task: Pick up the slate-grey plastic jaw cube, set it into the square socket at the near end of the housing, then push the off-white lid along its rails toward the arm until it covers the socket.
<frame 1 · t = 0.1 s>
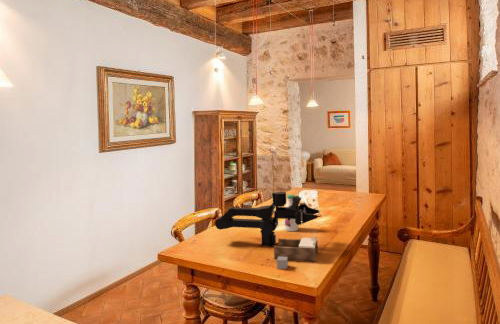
hand: (318, 213, 180), 17 cm above the table, tool horizontal, fingers open, 9 cm apart
milk bottle: (291, 229, 212), on the table
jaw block: (282, 267, 160), on the table
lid: (308, 241, 170), point 7 cm above the table, slide at 0.0 cm
housing: (296, 255, 172), on the table
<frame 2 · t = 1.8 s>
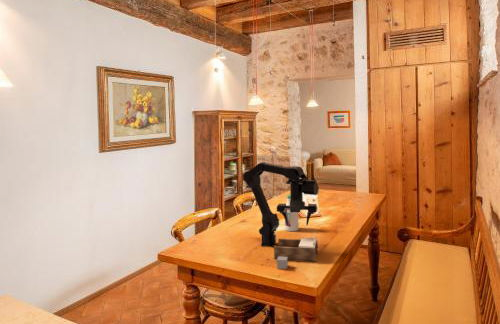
hand: (297, 225, 178), 12 cm above the table, tool pointing down, fingers open, 9 cm apart
nothing on the table moved.
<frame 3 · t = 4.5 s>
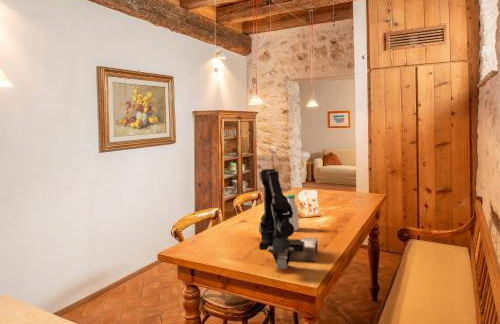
hand: (282, 264, 160), 1 cm above the table, tool pointing down, fingers closed on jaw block, 4 cm apart
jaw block: (282, 267, 160), on the table, touching gripper
everything else where it was.
when the fingers open (4 cm above the table, at t = 8.0 s): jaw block drops 2 cm, resting on housing.
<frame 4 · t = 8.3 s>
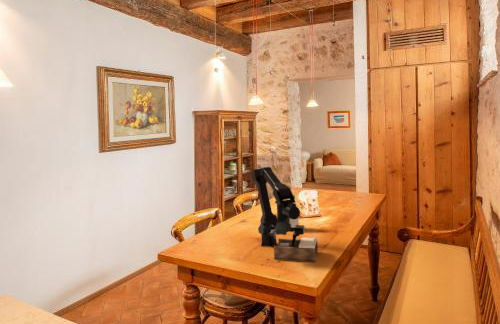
hand: (284, 247, 173), 4 cm above the table, tool pointing down, fingers open, 8 cm apart
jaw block: (284, 252, 173), point 1 cm above the table, touching housing
everything else where it was.
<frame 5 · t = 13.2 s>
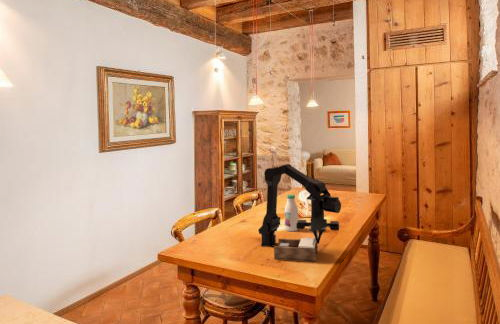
hand: (318, 243, 169), 6 cm above the table, tool pointing down, fingers closed
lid: (307, 241, 170), point 7 cm above the table, slide at 0.1 cm, touching gripper
everything else where it was.
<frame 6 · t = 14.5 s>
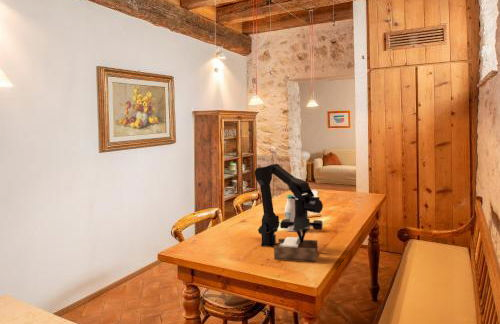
hand: (301, 242, 171), 6 cm above the table, tool pointing down, fingers closed
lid: (291, 240, 172), point 7 cm above the table, slide at 7.5 cm, touching gripper
everything else where it was.
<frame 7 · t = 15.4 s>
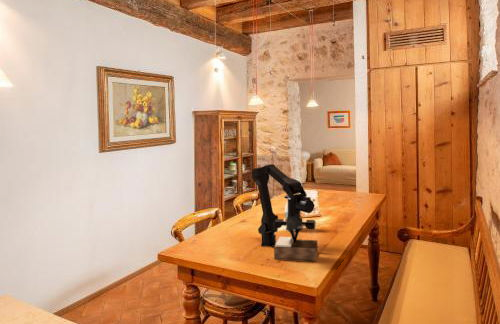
hand: (295, 242, 171), 6 cm above the table, tool pointing down, fingers closed
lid: (285, 240, 173), point 7 cm above the table, slide at 10.6 cm, touching gripper
everything else where it was.
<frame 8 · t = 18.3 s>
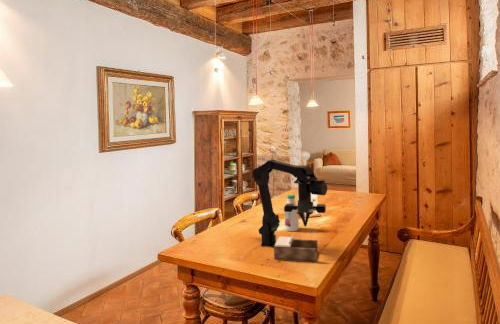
hand: (305, 226, 173), 13 cm above the table, tool pointing down, fingers closed
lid: (284, 240, 173), point 7 cm above the table, slide at 10.8 cm
everything else where it was.
at the end: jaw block 0.0 cm from the target spot on the housing, point 1.0 cm above the housing's base; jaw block tilted 0°; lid slide at 10.8 cm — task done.
